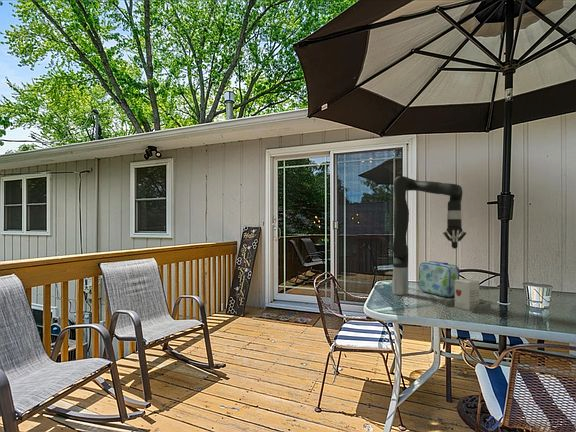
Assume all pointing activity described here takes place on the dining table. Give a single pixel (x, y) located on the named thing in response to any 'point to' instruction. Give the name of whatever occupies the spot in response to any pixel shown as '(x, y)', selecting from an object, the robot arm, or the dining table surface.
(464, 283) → the supplement box
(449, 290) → the lunch box
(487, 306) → the tray
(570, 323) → the dining table surface
